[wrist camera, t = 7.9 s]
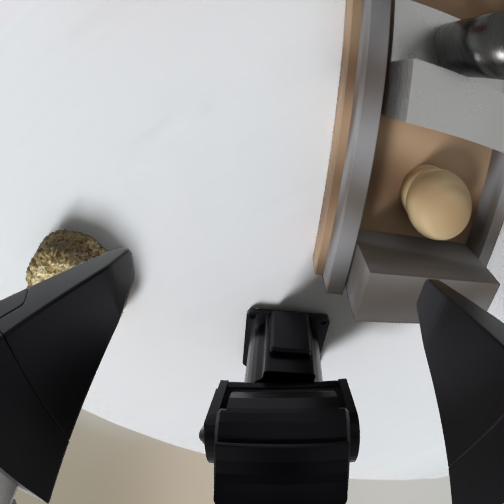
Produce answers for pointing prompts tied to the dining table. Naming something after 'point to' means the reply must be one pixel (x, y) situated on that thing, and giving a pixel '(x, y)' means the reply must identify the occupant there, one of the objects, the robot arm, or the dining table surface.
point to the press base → (398, 186)
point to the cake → (61, 255)
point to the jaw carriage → (446, 72)
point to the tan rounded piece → (435, 202)
